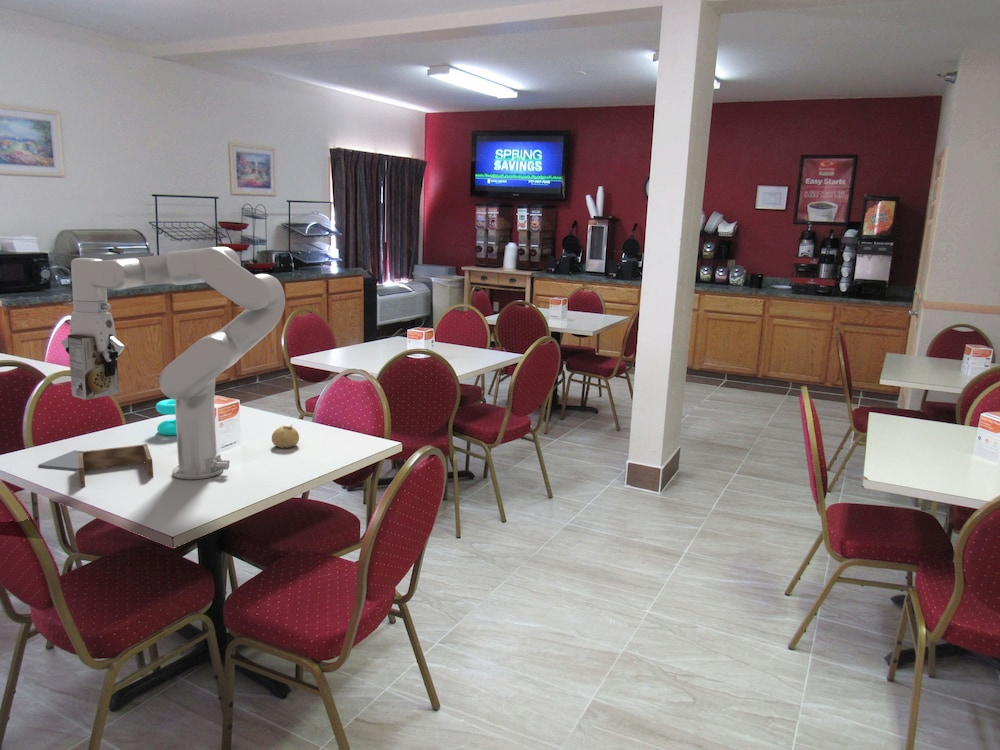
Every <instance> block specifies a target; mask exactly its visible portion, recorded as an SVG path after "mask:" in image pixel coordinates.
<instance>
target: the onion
mask: <svg viewBox="0 0 1000 750" xmlns="http://www.w3.org/2000/svg"><path fill="white" fill-rule="evenodd" d="M293 425H294V424H291V425H286V424H285V425H281V426H279V427H278V428H276V429H275V430H274V431H273V432H272V435H271V442H272V443H273V445H274V446H275V445H276V446H275V447H277V446H278V447H277V448H279V447H290V448H292V447H291V446H293V447H294V445H295V446H296V445H297V444H299V441H300V434H299V432H298V431H297V429H295V428H294V427H293Z"/></svg>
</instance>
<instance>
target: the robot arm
mask: <svg viewBox="0 0 1000 750" xmlns="http://www.w3.org/2000/svg"><path fill="white" fill-rule="evenodd" d="M70 263H71V264H70V272H71V274H70V275H71V286H72V287H71V288H72V290H71V291H72V304H73V311H72V312H71V316H70V324H69V335H84V336H92V337H95V340H96V346H97V351H98V352H101V353H102V355H103V356H104V358H105V359H106V361H105V362H104V373H105V377H109V376H113V375H115V360H117V361H118V358H119V357H120V356H121V354H122V352H123V351H124V349H125V344H123V343H122V342H120V340H118V339H117V331H116V327H115V322H114V317H113V315H112V313H111V312H109V310H111V309H112V305H111V304H110V303H108V290H114V291H119V290H126V289H131V288H136V287H137V288H139V287H145V286H153V285H154V286H155V285H164V284H165V285H167V284H171V285H174V286H184V285H192V284H200V283H201V284H202V283H206V284H207V285H209V286H210V287H211V288H213V289H215V291H217V292H218V293H221V295H223V296H225V297H226V298H227V299H229V300H230V301H232V302H233V303H235V304H236V305H238V306H240V308H243V309H244V310H243V311H241V313H239V314H238V315H236V316H235V317H234V318H233V319H232V320H231V321H230V322H228V323H227V324H225V325H224V327H222V328H221V329H219V330H217V331H215V332H213V333H211V334H207V335H206V336H203V337H201V338H199V339H198V340H197V341H196V342H194V343H193V344H192V345H191V346H190V347H188V348H187V349H186V350H184V351H183V352H182V353H181V354H179V355H178V356H177V357H176V358H175V359H174V360H173V361H171V362H170V363H168V365H166V366H165V367H164V368H163V370H162V371H161V372H160V375H159V379H158V382H159V383H158V384H159V388H160V390H161V392H162V393H163V395H165V396H166V397H167V398H168V399H174V400H176V401H175V414H176V415H175V419H176V432H177V435H176V444H177V445H176V446H177V459H178V461H177V463H178V465H176V466H175V467H173V469H172V476H173V477H175V478H176V479H181V480H202V479H208V478H211V477H216V476H217V475H219V474H221V473H222V472H224V470H225V471H229V468H230V463H231V462H230V459H229V460H228V459H222V458H221V456H222V455H221V454H220V453H217V435H216V416H215V415H216V414H215V412H216V410H215V391H216V390H215V389H216V378H217V377H218V376H219V375H221V374H222V373H223V372H224V371H226V370H228V369H229V368H231V367H232V366H233V365H235V364H236V363H237V362H238V361H239V360H240V359H241V358H242V357H243V356H244V355H245V354H246V353H249V351H250V350H251V349H252V348H253V347H255V346H256V345H258V343H259V342H261V341H262V340H263V339H265V337H267V335H268V334H270V333H271V332H272V331H273V329H274V328H275V327H276V326H277V325H278V324H279V322H280V321H281V318H282V316H283V314H284V310H285V308H286V297H285V296H286V295H285V291H284V288H283V286H282V284H281V282H280V281H279V280H278V279H277V278H276V276H273V275H270V274H268V273H257V274H253V273H251V272H250V271H249V270H247V269H246V268H245V267H243V266H241V265H242V264H241V259H240V257H239V254H238V253H237V252H236V251H235V250H234V249H232V248H229V247H228V246H213V247H212V246H211V247H204V248H203V247H202V248H194V249H184V250H174V251H169V252H167V253H165V254H160V255H159V254H158V255H151V256H149V255H148V256H142V257H140V256H139V257H127V258H125V257H124V258H116V259H104V260H103V259H101V258H95V257H76V258H73V259H72V260H71V262H70ZM109 343H111V344H112V345H113V346H114V350H115V351H113V350H112V348H113V347H109V349H107V346H108V344H109ZM60 344H61V345H62V346H63V347H64V349H65V351H66V353H67V354H68V355H69V344H68V336H67V337H65V338H64V339H63V340H62V341H61V343H60ZM108 352H109V354H108ZM109 355H110V356H109Z"/></svg>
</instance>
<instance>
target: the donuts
mask: <svg viewBox="0 0 1000 750" xmlns="http://www.w3.org/2000/svg"><path fill="white" fill-rule="evenodd" d="M175 401H176V400H174V399H171V398H168V399H163V400H160V401H158V402H157V403H156V405H155V410H156V411H157V412H158V413H159V414H162V415H165V416H166V415H169V416H173V415H174V416H176V414H175ZM156 431H157V432H158V433H159V434H160V435H164V436H177V432H176V418H173V419H172V418H171V419H167V420H164V421H162V422H160V423H159V424H157V427H156Z"/></svg>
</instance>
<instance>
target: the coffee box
mask: <svg viewBox="0 0 1000 750" xmlns="http://www.w3.org/2000/svg"><path fill="white" fill-rule="evenodd" d="M67 337H68V344H69V354H68V355H69V371H70V382H71V385H70V386H71V395H72V397H75V398H79V399H82V400H84V401H86V400H87V401H88V400H93V399H97V398H103V397H108V396H112V395H113V396H114V395H118V394H120V383H119V382H120V381H119V372H118V371H119V370H118V369H119V367H118V359H117V360H115V375H113V376H109V377H105V373H104V362H105V361H106V359H105V358H104V356H103V355H102V353H101V352H98V351H97V346H96V340H95V337H92V336H84V335H70V334H67ZM109 347H113V348H112V350H113V351H115V350H114V346H113V345H112V344H111V343H109V344H108V346H107V349H109ZM108 354H109V352H108ZM109 356H110V355H109Z"/></svg>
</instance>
